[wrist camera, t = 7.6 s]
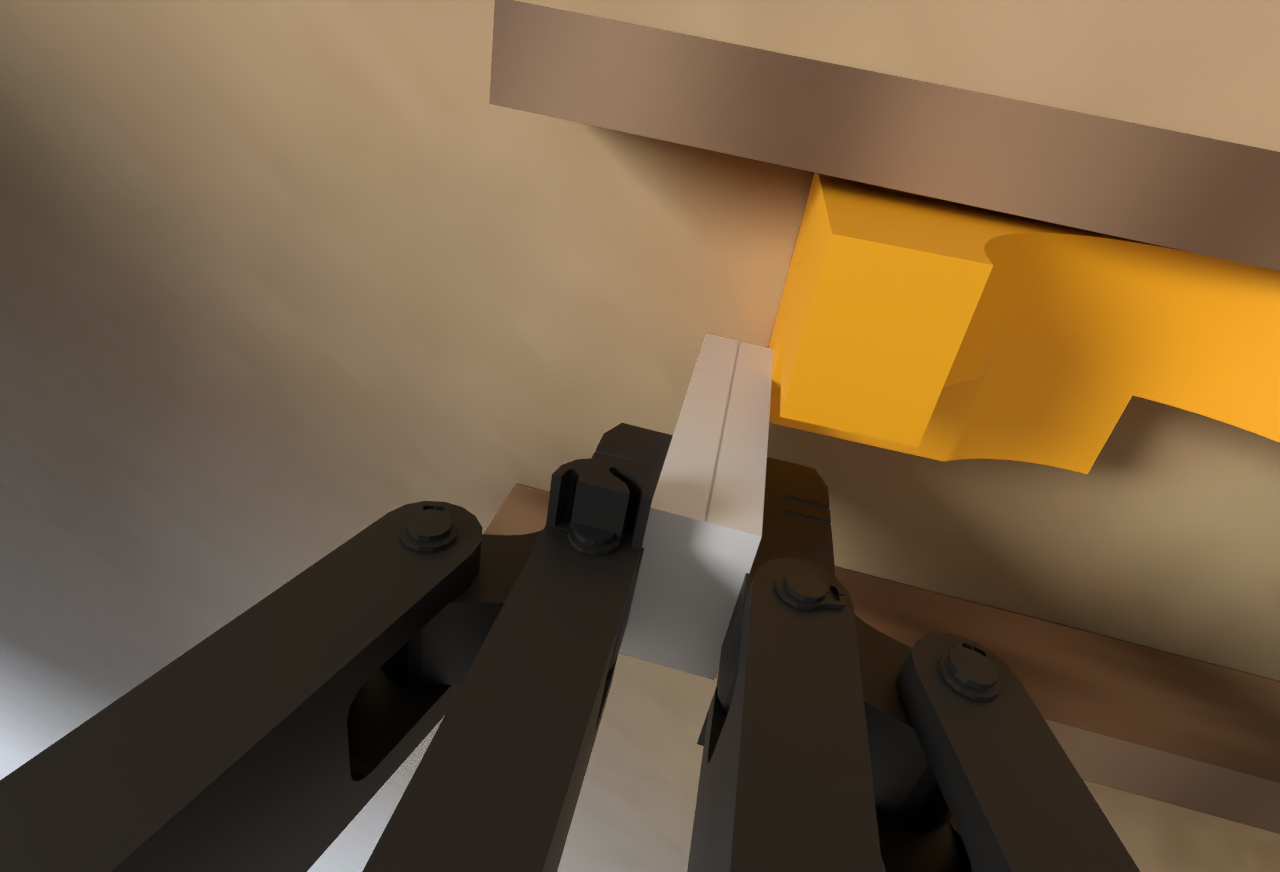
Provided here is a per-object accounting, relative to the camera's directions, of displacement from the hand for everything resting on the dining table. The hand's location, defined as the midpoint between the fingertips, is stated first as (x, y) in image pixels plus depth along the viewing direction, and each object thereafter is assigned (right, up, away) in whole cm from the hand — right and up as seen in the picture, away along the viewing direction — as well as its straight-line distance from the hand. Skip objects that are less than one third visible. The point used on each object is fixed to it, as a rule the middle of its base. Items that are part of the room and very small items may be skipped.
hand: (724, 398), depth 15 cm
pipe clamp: (+7, +2, 0) cm, 8 cm away
